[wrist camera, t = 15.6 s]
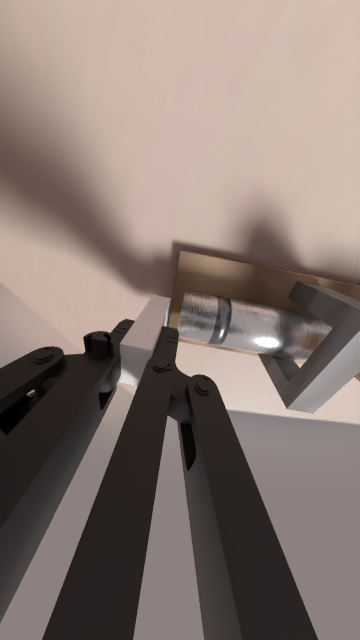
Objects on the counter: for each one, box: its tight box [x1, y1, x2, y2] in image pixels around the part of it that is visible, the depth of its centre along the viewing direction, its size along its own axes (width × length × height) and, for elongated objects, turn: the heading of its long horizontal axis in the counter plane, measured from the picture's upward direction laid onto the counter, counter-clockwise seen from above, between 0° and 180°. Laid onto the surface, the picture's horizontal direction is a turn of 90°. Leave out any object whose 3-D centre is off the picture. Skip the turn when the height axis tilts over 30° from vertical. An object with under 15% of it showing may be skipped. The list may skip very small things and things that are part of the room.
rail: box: [168, 250, 360, 413], centre depth 12 cm, size 26×9×7 cm, turn 80°
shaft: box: [178, 290, 332, 362], centre depth 13 cm, size 13×4×4 cm, turn 80°
